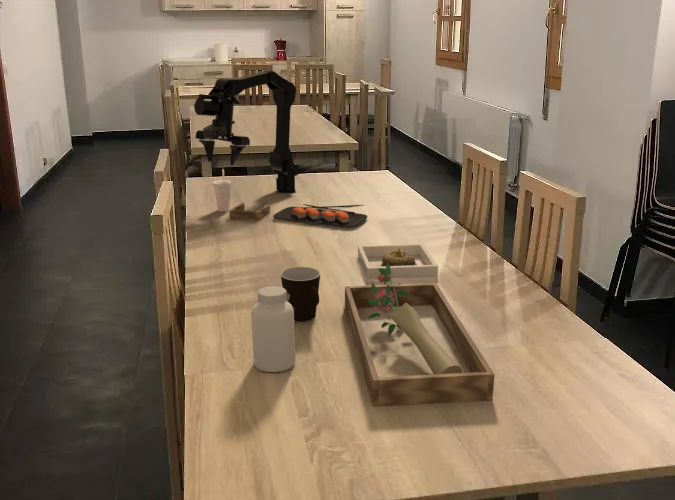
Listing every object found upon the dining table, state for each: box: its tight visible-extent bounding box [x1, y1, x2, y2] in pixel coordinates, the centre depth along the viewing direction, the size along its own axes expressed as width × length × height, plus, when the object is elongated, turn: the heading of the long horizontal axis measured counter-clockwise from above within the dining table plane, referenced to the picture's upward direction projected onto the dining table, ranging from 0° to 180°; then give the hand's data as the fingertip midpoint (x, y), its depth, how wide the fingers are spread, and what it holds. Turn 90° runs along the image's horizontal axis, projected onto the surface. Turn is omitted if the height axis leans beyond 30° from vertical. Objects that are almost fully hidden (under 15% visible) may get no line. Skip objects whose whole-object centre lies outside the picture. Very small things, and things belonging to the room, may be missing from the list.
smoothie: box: [212, 168, 233, 212], centre depth 237 cm, size 6×6×14 cm
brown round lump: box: [380, 249, 418, 267], centre depth 187 cm, size 10×10×5 cm
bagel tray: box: [357, 243, 439, 281], centre depth 187 cm, size 18×18×3 cm
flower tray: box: [344, 282, 495, 407], centre depth 142 cm, size 21×43×5 cm, turn 6°
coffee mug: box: [280, 266, 321, 323], centre depth 154 cm, size 12×9×10 cm
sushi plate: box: [272, 203, 368, 228], centre depth 235 cm, size 29×30×4 cm
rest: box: [228, 202, 271, 222], centre depth 232 cm, size 10×10×3 cm
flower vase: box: [367, 263, 463, 375], centre depth 142 cm, size 12×12×35 cm
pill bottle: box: [250, 285, 296, 373], centre depth 134 cm, size 8×8×15 cm
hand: (220, 163), depth 241 cm, fingers open, 9 cm apart
